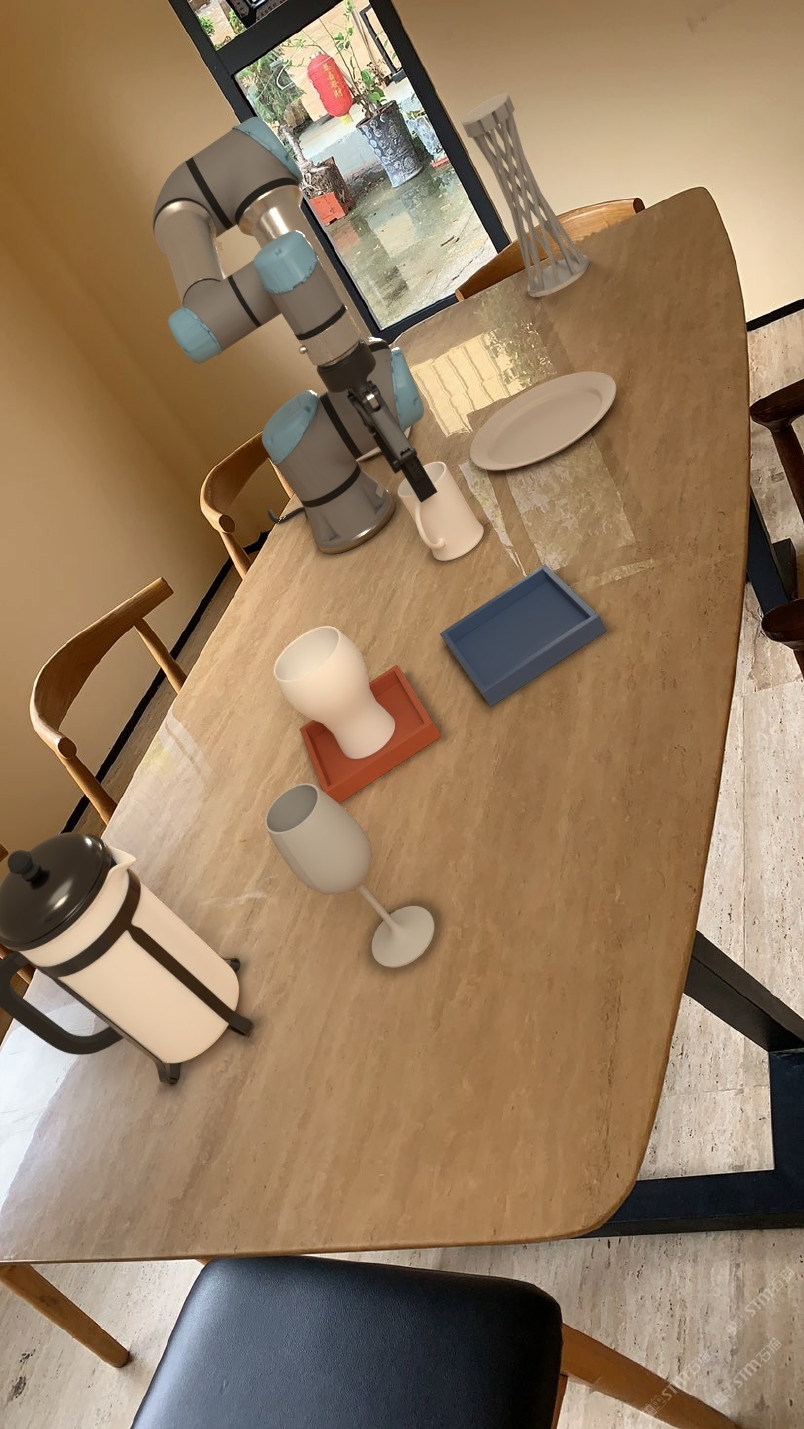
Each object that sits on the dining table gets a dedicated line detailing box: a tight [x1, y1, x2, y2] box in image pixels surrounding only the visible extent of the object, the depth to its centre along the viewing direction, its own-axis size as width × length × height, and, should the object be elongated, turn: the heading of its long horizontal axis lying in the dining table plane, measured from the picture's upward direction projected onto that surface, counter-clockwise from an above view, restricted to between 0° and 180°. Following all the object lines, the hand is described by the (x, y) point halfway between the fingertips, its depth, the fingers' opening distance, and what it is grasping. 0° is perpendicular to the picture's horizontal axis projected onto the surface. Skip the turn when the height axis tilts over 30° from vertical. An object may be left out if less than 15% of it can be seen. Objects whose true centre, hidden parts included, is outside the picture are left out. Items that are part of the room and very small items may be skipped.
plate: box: [469, 371, 617, 471], centre depth 169 cm, size 26×26×2 cm
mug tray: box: [439, 563, 607, 708], centre depth 131 cm, size 17×17×2 cm
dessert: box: [357, 426, 412, 463], centre depth 198 cm, size 12×12×5 cm
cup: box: [272, 625, 395, 759], centre depth 128 cm, size 11×11×15 cm
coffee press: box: [0, 831, 255, 1086], centre depth 103 cm, size 17×16×30 cm
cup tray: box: [299, 664, 442, 805], centre depth 132 cm, size 16×16×2 cm
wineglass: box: [264, 782, 436, 969], centre depth 100 cm, size 8×8×21 cm
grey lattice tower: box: [461, 92, 591, 298], centre depth 204 cm, size 14×13×35 cm
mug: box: [396, 461, 485, 562], centre depth 153 cm, size 12×8×12 cm
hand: (415, 482), depth 149 cm, fingers open, 13 cm apart
